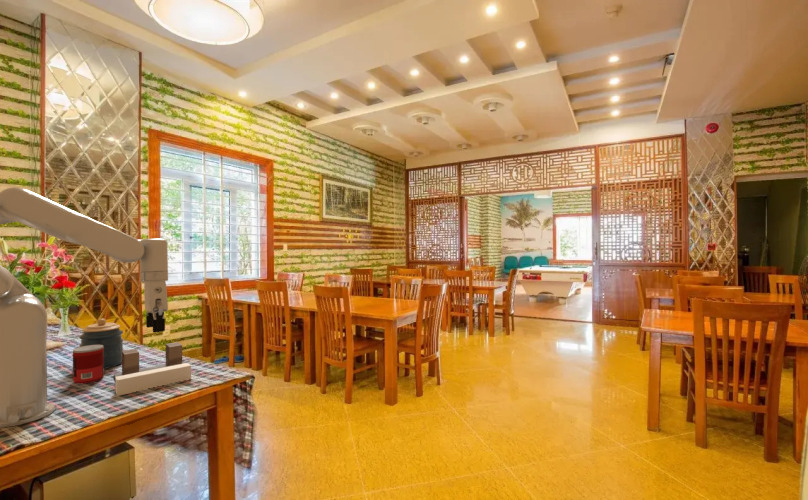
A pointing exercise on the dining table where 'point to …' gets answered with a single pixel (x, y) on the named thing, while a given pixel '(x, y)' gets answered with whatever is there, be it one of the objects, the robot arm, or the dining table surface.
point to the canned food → (88, 364)
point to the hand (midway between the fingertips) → (155, 329)
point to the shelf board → (151, 378)
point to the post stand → (172, 358)
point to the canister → (105, 340)
